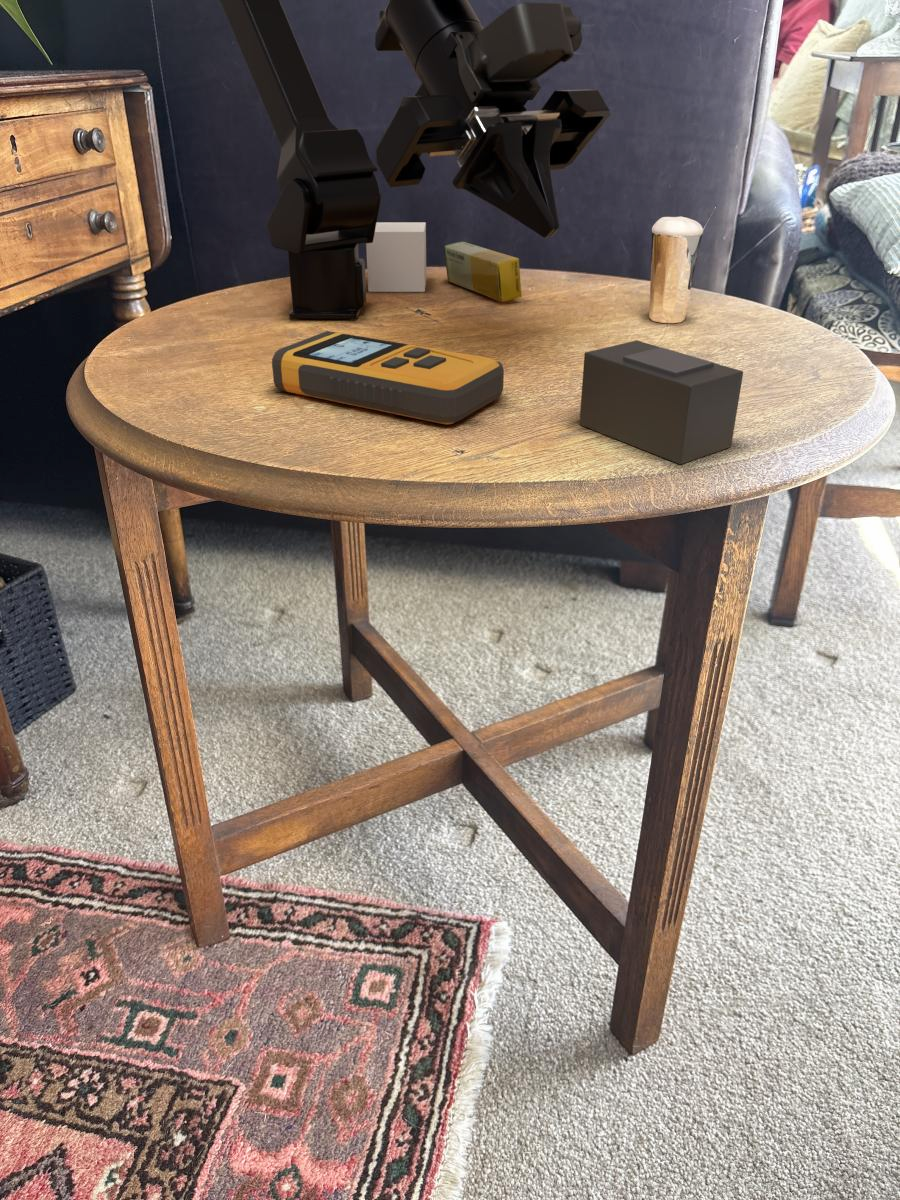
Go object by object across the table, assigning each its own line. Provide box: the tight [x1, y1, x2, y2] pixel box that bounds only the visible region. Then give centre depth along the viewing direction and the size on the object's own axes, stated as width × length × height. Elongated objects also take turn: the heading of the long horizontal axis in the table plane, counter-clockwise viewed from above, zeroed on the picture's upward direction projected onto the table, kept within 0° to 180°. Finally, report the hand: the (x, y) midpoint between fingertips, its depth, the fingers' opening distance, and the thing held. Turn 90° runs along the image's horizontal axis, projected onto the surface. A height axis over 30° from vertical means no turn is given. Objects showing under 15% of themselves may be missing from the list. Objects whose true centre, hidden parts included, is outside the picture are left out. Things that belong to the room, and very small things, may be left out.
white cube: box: [365, 221, 427, 293], centre depth 100 cm, size 6×6×6 cm
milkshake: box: [648, 206, 717, 324], centre depth 86 cm, size 5×5×10 cm
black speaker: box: [578, 339, 744, 465], centre depth 61 cm, size 5×5×9 cm
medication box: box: [443, 241, 523, 303], centre depth 98 cm, size 12×3×4 cm, turn 27°
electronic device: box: [271, 330, 505, 425], centre depth 69 cm, size 8×16×3 cm, turn 59°
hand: (552, 233), depth 67 cm, fingers closed
